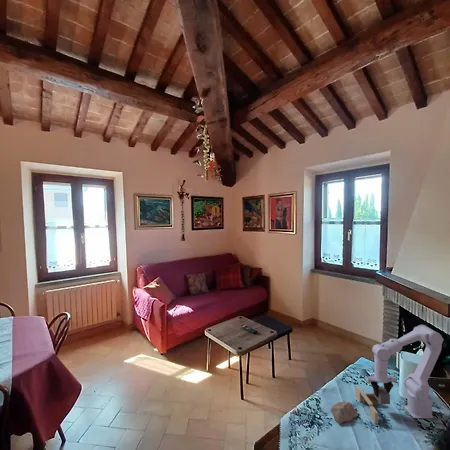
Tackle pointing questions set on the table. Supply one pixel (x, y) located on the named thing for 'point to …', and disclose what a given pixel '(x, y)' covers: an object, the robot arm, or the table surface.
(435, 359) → the robot arm
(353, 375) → the table surface
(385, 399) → the grey rectangular block
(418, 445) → the table surface
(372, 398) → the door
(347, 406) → the concrete fragment
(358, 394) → the wall frame
